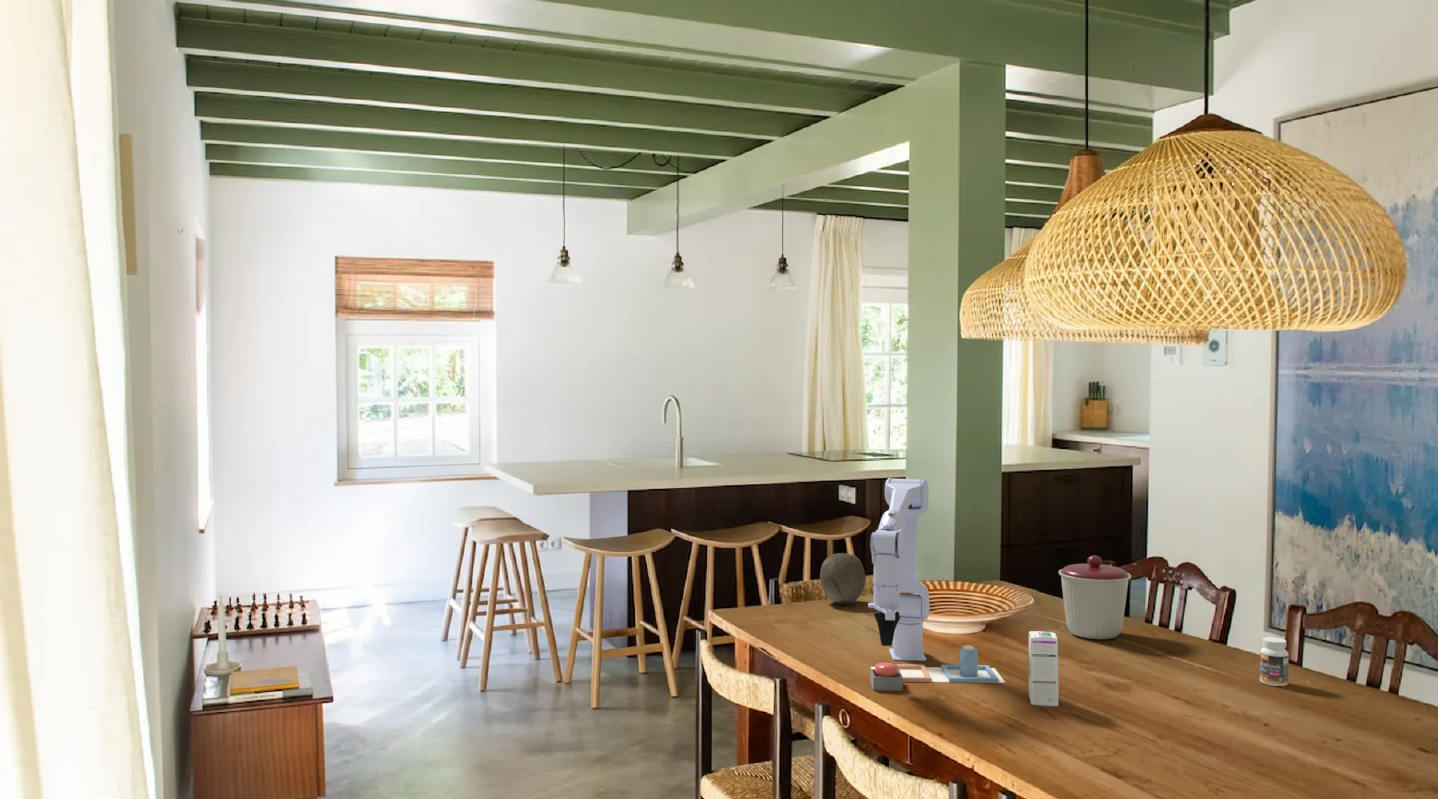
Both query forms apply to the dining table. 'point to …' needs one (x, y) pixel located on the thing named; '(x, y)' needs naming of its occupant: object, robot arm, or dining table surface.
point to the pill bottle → (1274, 662)
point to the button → (886, 670)
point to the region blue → (969, 679)
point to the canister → (1094, 598)
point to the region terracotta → (915, 679)
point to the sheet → (939, 675)
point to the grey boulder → (842, 578)
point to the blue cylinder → (968, 661)
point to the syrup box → (1043, 668)
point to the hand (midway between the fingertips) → (886, 645)
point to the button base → (886, 682)
